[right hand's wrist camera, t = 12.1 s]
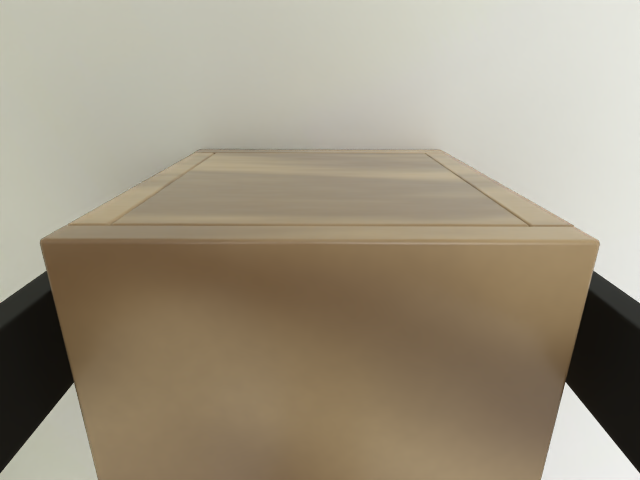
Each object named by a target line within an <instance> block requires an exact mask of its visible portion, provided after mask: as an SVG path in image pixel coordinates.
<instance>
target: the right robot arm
mask: <svg viewBox="0 0 640 480" xmlns="http://www.w3.org/2000/svg"><path fill="white" fill-rule="evenodd" d="M565 382H566V383H567V384H568V385H569V387H570V388H571V389H572V390H573V392H574V393H575V394H576V395H577V396H578V398H579V399H580V400H581V401H582V403H583V404H584V405H585V406H586V408H587V409H588V410H589V411H590V412H591V414H592V415H593V416H594V417H595V419H596V420H597V421H598V422H599V424H600V425H601V426H602V427H603V428H604V430H605V431H606V432H607V433H608V435H609V436H610V437H611V438H612V440H613V441H614V442H615V443H616V445H617V446H618V447H619V448H620V449H621V451H622V452H623V453H624V454H625V456H626V457H627V458H628V459H629V461H630V462H631V463H632V464H633V465H634V467H635V468H636V469H637V470H638V472H639V473H640V303H639V302H637V301H636V300H634V299H633V298H632V297H630V296H629V295H627V294H626V293H624V292H623V291H622V290H620V289H619V288H617V287H616V286H614V285H613V284H612V283H610V282H609V281H607V280H606V279H604V278H603V277H602V276H600V275H599V274H597V273H596V272H594V271H593V273H592V277H591V281H590V285H589V289H588V293H587V297H586V301H585V305H584V309H583V313H582V317H581V321H580V325H579V329H578V333H577V337H576V341H575V345H574V349H573V353H572V357H571V361H570V365H569V369H568V373H567V377H566V381H565ZM73 383H74V380H73V375H72V371H71V367H70V363H69V359H68V355H67V351H66V347H65V343H64V339H63V335H62V331H61V327H60V323H59V319H58V315H57V311H56V306H55V302H54V298H53V294H52V290H51V286H50V282H49V278H48V274H47V271H46V272H44V273H43V274H41V275H40V276H38V277H37V278H36V279H34V280H33V281H31V282H30V283H28V284H27V285H26V286H24V287H23V288H21V289H20V290H18V291H17V292H16V293H14V294H13V295H11V296H10V297H8V298H7V299H6V300H4V301H3V302H1V303H0V473H1V472H2V470H3V469H4V468H5V467H6V465H7V464H8V463H9V462H10V461H11V459H12V458H13V457H14V456H15V454H16V453H17V452H18V451H19V449H20V448H21V447H22V446H23V445H24V443H25V442H26V441H27V440H28V438H29V437H30V436H31V435H32V433H33V432H34V431H35V430H36V428H37V427H38V426H39V425H40V424H41V422H42V421H43V420H44V419H45V417H46V416H47V415H48V414H49V412H50V411H51V410H52V409H53V408H54V406H55V405H56V404H57V403H58V401H59V400H60V399H61V398H62V396H63V395H64V394H65V393H66V392H67V390H68V389H69V388H70V387H71V385H72V384H73Z"/></svg>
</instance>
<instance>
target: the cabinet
mask: <svg viewBox="0 0 640 480" xmlns="http://www.w3.org/2000/svg"><path fill="white" fill-rule="evenodd" d="M40 246H41V250H42V254H43V258H44V262H45V266H46V270H47V274H48V278H49V282H50V286H51V290H52V294H53V298H54V302H55V306H56V311H57V315H58V319H59V323H60V327H61V331H62V335H63V339H64V343H65V347H66V351H67V355H68V359H69V363H70V367H71V371H72V375H73V380H74V384H75V388H76V392H77V396H78V400H79V404H80V408H81V412H82V416H83V420H84V424H85V428H86V432H87V436H88V440H89V444H90V449H91V453H92V457H93V461H94V465H95V469H96V473H97V477H98V480H541V477H542V473H543V469H544V465H545V461H546V457H547V453H548V449H549V445H550V441H551V437H552V433H553V429H554V425H555V421H556V417H557V413H558V409H559V405H560V401H561V397H562V393H563V389H564V385H565V381H566V377H567V373H568V369H569V365H570V361H571V357H572V353H573V349H574V345H575V341H576V337H577V333H578V329H579V325H580V321H581V317H582V313H583V309H584V305H585V301H586V297H587V293H588V289H589V285H590V281H591V277H592V273H593V269H594V265H595V261H596V257H597V253H598V250H599V246H600V243H599V241H598V240H597V239H595V238H593V237H592V236H590V235H588V234H586V233H585V232H583V231H581V230H579V229H578V228H576V227H574V226H573V225H572V224H570V223H568V222H567V221H565V220H563V219H561V218H560V217H558V216H556V215H554V214H553V213H551V212H549V211H547V210H546V209H544V208H542V207H540V206H539V205H537V204H535V203H533V202H532V201H530V200H528V199H526V198H525V197H523V196H521V195H519V194H517V193H516V192H514V191H512V190H510V189H509V188H507V187H505V186H503V185H502V184H500V183H498V182H496V181H495V180H493V179H491V178H489V177H488V176H486V175H484V174H482V173H481V172H479V171H477V170H475V169H474V168H472V167H470V166H468V165H466V164H465V163H463V162H461V161H459V160H458V159H456V158H454V157H452V156H451V155H449V154H447V153H445V152H444V151H442V150H246V149H200V150H198V151H196V152H194V153H193V154H191V155H190V156H188V157H186V158H184V159H183V160H181V161H179V162H177V163H175V164H174V165H172V166H170V167H168V168H167V169H165V170H163V171H161V172H159V173H158V174H156V175H154V176H152V177H151V178H149V179H147V180H145V181H144V182H142V183H140V184H138V185H136V186H135V187H133V188H131V189H129V190H128V191H126V192H124V193H122V194H121V195H119V196H117V197H115V198H113V199H112V200H110V201H108V202H106V203H105V204H103V205H101V206H99V207H97V208H96V209H94V210H92V211H90V212H89V213H87V214H85V215H83V216H82V217H80V218H78V219H76V220H74V221H73V222H71V223H69V224H68V225H67V226H64V227H62V228H60V229H58V230H57V231H55V232H53V233H51V234H49V235H48V236H46V237H44V238H42V239H41V240H40Z"/></svg>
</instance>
